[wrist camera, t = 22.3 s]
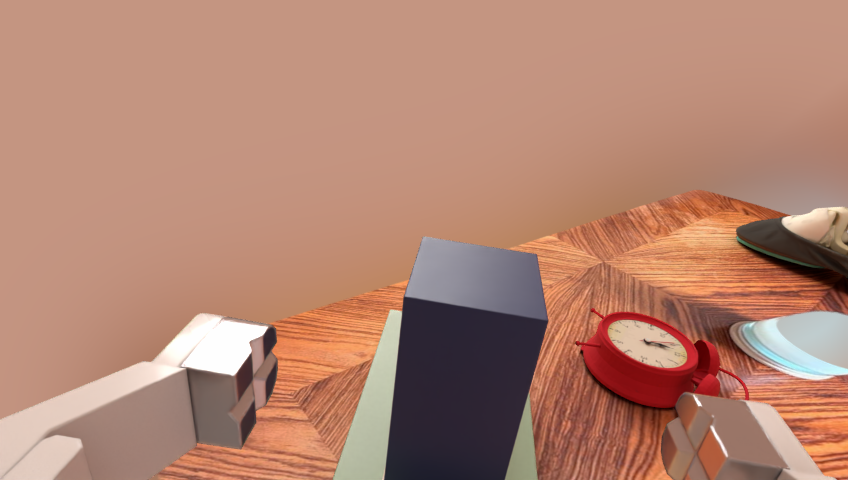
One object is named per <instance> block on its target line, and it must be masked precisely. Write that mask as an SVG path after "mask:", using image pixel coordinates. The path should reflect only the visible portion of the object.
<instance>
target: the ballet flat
mask: <svg viewBox="0 0 848 480" xmlns="http://www.w3.org/2000/svg"><path fill="white" fill-rule="evenodd" d="M847 230H848V208H847V207H832V208H818V209H815V210H813V211H812V212H811V213H808V214H804V215H800V216H795V215H794V216H788V217H780V218H776V219H768V220H761V221H755V222H752V223H749V224H746V225H742V226H740V227H738V228H737V229H736V232H737V240H738V241H739V242H741V243H742V244H744V245H746V246H748V247H750V248H752V249H755V250H757V251H760V252H762V253H765V254H767V255H770V256H773V257H776V258H779V259H782V260H786V261H789V262H793V263H796V264H800V265H804V266H808V267H814V268H828V269H830V270H833V271H835V272H837V273H839V274H842V275H844V276H845V277H846V278H847V279H848V233H847V232H846V231H847Z"/></svg>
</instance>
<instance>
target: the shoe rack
mask: <svg viewBox="0 0 848 480" xmlns="http://www.w3.org/2000/svg"><path fill="white" fill-rule="evenodd" d="M401 318H402V311H397V310H390V312H389V315H388V318H387V320H386V323H385V326H384V329H383V332H382V335H381V338H380V341H379V344H378V347H377V350H376V353H375V356H374V359H373V362H372V365H371V368H370V371H369V374H368V377H367V379H366V382H365V385H364V388H363V391H362V394H361V397H360V400H359V403H358V406H357V409H356V412H355V415H354V418H353V421H352V424H351V427H350V430H349V433H348V435H347V438H346V441H345V444H344V447H343V450H342V453H341V456H340V459H339V462H338V465H337V468H336V471H335V474H334V477H333V480H382V478H383V474H384V470H385V465H386V456H387V447H388V438H389V429H390V419H391V410H392V401H393V392H394V382H395V373H396V364H397V355H398V345H399V336H400V327H401ZM505 480H538V478H537V467H536V457H535V447H534V437H533V426H532V416H531V406H530V395H529V393H528V397H527V401H526V404H525V408H524V412H523V415H522V419H521V423H520V426H519V430H518V434H517V437H516V441H515V445H514V448H513V452H512V456H511V459H510V463H509V467H508V470H507V474H506V478H505Z"/></svg>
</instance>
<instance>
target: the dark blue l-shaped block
mask: <svg viewBox="0 0 848 480" xmlns="http://www.w3.org/2000/svg"><path fill="white" fill-rule="evenodd" d="M547 324H548V317H547V311H546V305H545V299H544V293H543V288H542V282H541V276H540V270H539V264H538V258H537V254H532V253H525V252H519V251H513V250H506V249H500V248H494V247H487V246H481V245H474V244H468V243H462V242H455V241H449V240H442V239H436V238H430V237H423V238H422V241H421V244H420V247H419V251H418V254H417V257H416V260H415V263H414V266H413V269H412V273H411V276H410V279H409V282H408V285H407V288H406V291H405V295H404V299H403V308H402V318H401V327H400V336H399V345H398V355H397V364H396V373H395V382H394V392H393V401H392V410H391V419H390V429H389V438H388V447H387V456H386V465H385V470H384V474H383V478H382V480H505V478H506V474H507V470H508V467H509V463H510V459H511V456H512V452H513V448H514V445H515V441H516V437H517V434H518V430H519V426H520V423H521V419H522V415H523V412H524V408H525V404H526V401H527V397H528V393H529V390H530V386H531V382H532V379H533V375H534V371H535V368H536V364H537V360H538V357H539V353H540V350H541V346H542V342H543V339H544V335H545V331H546V328H547Z"/></svg>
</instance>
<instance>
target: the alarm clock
mask: <svg viewBox="0 0 848 480" xmlns="http://www.w3.org/2000/svg"><path fill="white" fill-rule="evenodd" d="M591 312H594V313H596V314H597V315H598V316H599V317H601V318H602V321H600V323H599V325H598V329H597V332H596V334H595V335H594V336H593V337H592V338H591V339H589V340H588V342H587V343H580V342H579V341H576V343H575V344H576V345H577V346H579V345H582V347H581V350H583V351H584V352H583V356H584V361H585V363H586V365H587V367H588V369H589V370H590V372H591V373H592V374H593V375H594V376H595V378H596V379H597V380H599V381H600V382H601V383H602V384H603V385H604V386H606V387H607V388H608V389H610V390H612V391H613V392H615V393H616V394H618V395H620V396H622V397H624V398H626V399H628V400H631V401H634V402H636V403H639V404H643V405H647V406H652V407H660V408H669V407H675V405H676V403H677V401H678V398H679V397H680V396H681V395H682V394H683V393H684V392H690V393H693V389H694V385H693V383H694V384H696V385H697V386H698V387H697V389H696V390H695V392H694V393H696V394H703V395H709V396H715V397H718V394H719V391H720V382H719V380H718V379H717V378H716V375H717V373H718V371H719V370H720V371H722V372H724V373H727V374H729V375H731V376H732V377H734V378H736V379H737V380H738V381H739V382H740V383H741V384H742V386H743V388H744V390H745V400H747V401H748V400H749V393H748V389H747V387H746V385H745V383H744V382H743V381H742V380H741V379H740V378H739V377H737V376H736V375H734V374H732V373H731V372H728V371H726V370H724V369H722V368H720V367H719V366H720V358H719V355H718V352H717V350H716V348H715V347H714V346H713V345H712V344H711V343H709V342H707V341H704V340H698V341H697V342H696V343H695V344H694V345H693V343H692V342H691V341H690V340H689V339H688V338H687V337H686V336H685V335H684V334H683V333H681V332H680V331H679V330H677V329H676V328H674V327H672V326H671V325H669V324H667V323H665V322H663V321H661V320H658V319H656V318H653V317H650V316H647V315H643V314H639V313H633V312H615V313H611V314H609V315H607V316H605V317H604V316H603V315H601V314H599V313H598V312H596V311H595V309H594V308H592V309H591ZM584 345H585V346H584Z"/></svg>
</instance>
